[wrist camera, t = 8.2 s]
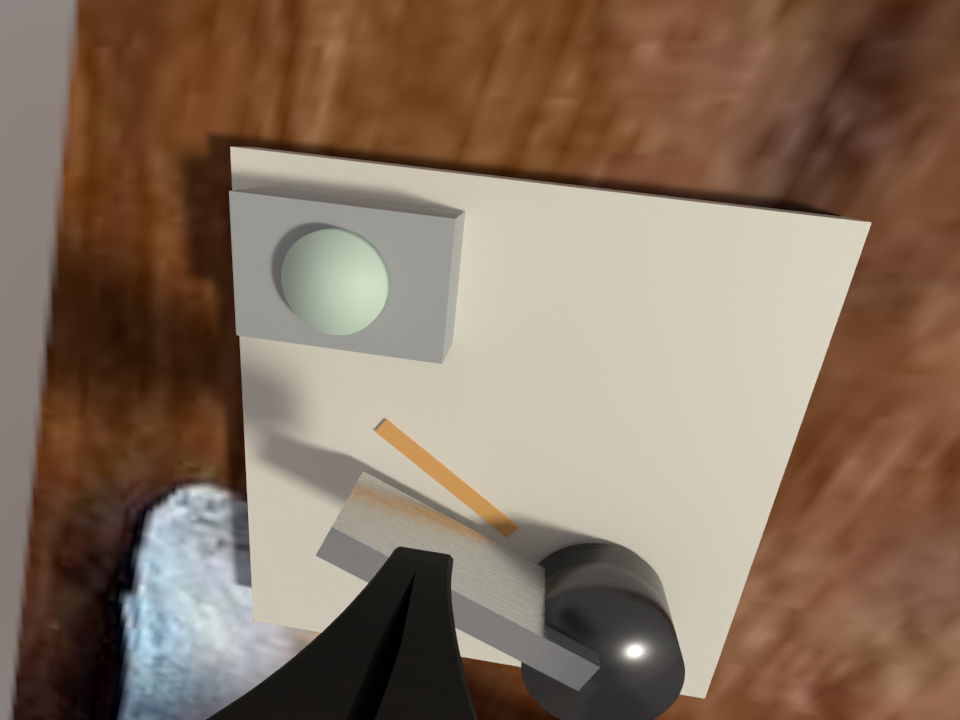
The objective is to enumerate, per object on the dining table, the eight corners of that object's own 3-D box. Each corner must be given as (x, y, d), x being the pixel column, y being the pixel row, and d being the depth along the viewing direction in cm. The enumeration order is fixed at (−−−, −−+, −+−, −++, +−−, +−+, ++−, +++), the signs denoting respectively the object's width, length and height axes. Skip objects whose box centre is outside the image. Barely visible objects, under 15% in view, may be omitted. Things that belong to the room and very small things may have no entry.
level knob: (694, 586, 20) (724, 673, 16) (613, 672, 21) (625, 766, 18) (391, 421, 19) (358, 478, 15) (332, 526, 20) (291, 597, 17)
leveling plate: (694, 665, 23) (724, 764, 19) (270, 593, 24) (219, 674, 20) (843, 216, 16) (931, 235, 13) (255, 147, 18) (177, 145, 14)
